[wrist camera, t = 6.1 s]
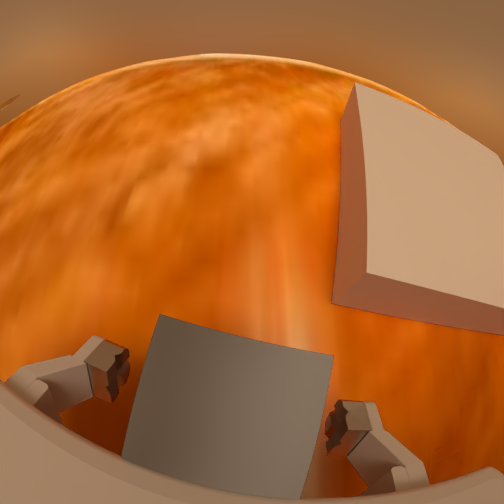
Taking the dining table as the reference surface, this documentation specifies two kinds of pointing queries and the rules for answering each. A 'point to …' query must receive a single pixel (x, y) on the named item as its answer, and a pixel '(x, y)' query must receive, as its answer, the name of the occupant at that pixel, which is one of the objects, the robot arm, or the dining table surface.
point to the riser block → (418, 217)
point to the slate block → (227, 410)
